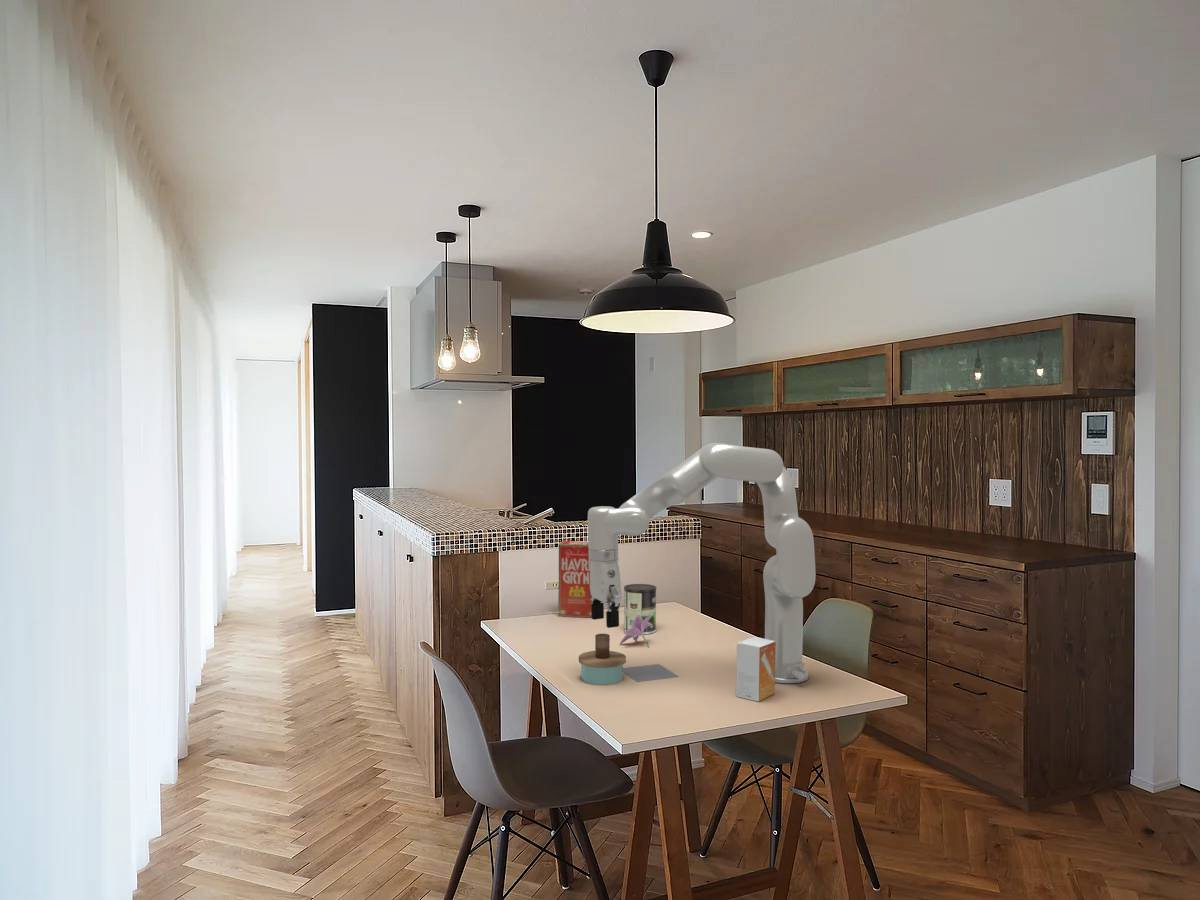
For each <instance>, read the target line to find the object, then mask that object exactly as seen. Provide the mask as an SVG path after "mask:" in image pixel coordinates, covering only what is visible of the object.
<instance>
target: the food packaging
mask: <svg viewBox="0 0 1200 900" xmlns="http://www.w3.org/2000/svg"><path fill="white" fill-rule="evenodd" d="M590 567H591V563H590V562H589V544H588V541H585V540H584V541H579V540H578V541H577V540H562V542H561V543H559V544H558V602H557V603H558V605H557V606H558V609H557V610H558V616H557V617H559V616H562V617H563V618H583V619H587V618H589V619H592V611H591V604H592V603H591V595H590V593H591V592H590ZM562 617H561V618H562Z"/></svg>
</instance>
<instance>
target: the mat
mask: <svg viewBox="0 0 1200 900" xmlns="http://www.w3.org/2000/svg"><path fill="white" fill-rule="evenodd" d="M623 674H624V675H626V676H627V677H629V678H630V679H632V680H633V681H635V682H637V683H639V682H640V683H641V682H649V681H656V680H657V681H658V680H666V679H672V678H673V679H674V678H679V677H680V676H679V675H678V674H676V673H674V672H672V671H671V670H669V669H668V668H666V667H664V666H663V665H661V664H659V663H656V664H654V663H653V664H648V665H647V664H646V665H637V666H628V667H623Z"/></svg>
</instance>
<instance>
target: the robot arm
mask: <svg viewBox="0 0 1200 900" xmlns="http://www.w3.org/2000/svg"><path fill="white" fill-rule="evenodd" d="M718 478H723V479H727V480H728V479H729V480H733V481H743V482H751V483H756V485H757V486H758V488H759V489H760V490H759V491H760V492H761V496H762V505H763V521H764V522H763V523H764V538H765V539H766V542H767V543H768V545H769V546H771V547H773V548H774V549H775V551H776V554H775V555H773V556H771V557H770V558H768V560H767V561H766V563H765V565H764V567H763V572H762V573H763V574H762V577H763V578H762V580H763V589H764V602H765V603H764V604H765V605H764V606H765V607H764V608H765V610H764V639H768V640H773V641H776V653H775V683H779V684H799V683H803V682H805V681H807V680H808V679H809V674H810V672H809V671H808V670H806V669H805V663H804V662H803V645H804V644H803V639H804V638H803V637H804V635H803V634H804V633H803V631H804V629H803V625H804V624H803V623H804V602H803V601H804V600H803V598H805V597H807V596H808V595H809V594H810V593H811V592H812V591H813V589H814V586H815V584H816V576H817V575H816V572H817V571H816V555H815V542H814V541H815V540H814V539H815V538H814V535H813V531H812V529H811V527H810V525H809V524H808V522H807V521H805V520H804V519H803V518H802V517H799V511H798V502H797V494H796V487H795V483H794V480H793V478H792V476H791V474H790V473H789V471H788V470H787V468H786V467H785V465H784V461H783V458H782V456H780V454H779V453H778V452H776V451H775V450H773V449H769V448H761V447H751V446H742V445H735V444H729V443H723V442H711V443H708V444H706V445H704V446H702V447H701V448H699V450H697V451H696V452H694V453H693V454H691V455H690V456H689V457H687V458H686V459H685V460H683V461H682V462H681V463H679V464H678V465H677V466H675V467H674V468H673V469H671V470H670V471H668V472H667V473H666V474H664V475H662V476H660V477H659V478H658V479H656V480H655V481H654V482H652V483H650V484H649V485H647V486H646V487H644V488H643V489H642V490H640V491H638V492H637V493H636V494H635V495H633V496H632V497H630V498H629V499H628V500H626V501H625V502H623V503H622V504H621V505H620V506H619V507H618V508H616V507H614V506H609V505H608V506H605V505H604V506H603V505H601V506H592V507H591V508H589V509H588V511H587V537H588V538H587V539H588V541H587V542H588V544H589V562H590V563H591V567H590V592H591V593H590V595H591V603H592V604H591V611H592V618H591V619H592V620H603V619H604V618H605V619H606V620H605V621H606V624H605V625H606V628H607V629H611V628H617V627H620V605H621V603H620V602H621V600H622V586H621V585H622V584H621V583H622V582H621V573H620V568H619V567H620V566H619V536H629V537H636V536H640V535H641V536H642V534H644V533H645V532H646V531H647V530H648V528H649V526H650V520H651V519H652V518H654V516H656V515H657V514H659V513H660V512H662V511H663V510H665V509H667V508H670V507H672V506H675V505H679V504H681V503H685V502H686V501H688V500H690V499H691V498H692V497H693V496H695V495H696V494H697V493H698V492H701V490H703V489H704V488H705V487H707V486H708V485H709V484H711V483H712V482H714V481H715V480H717V479H718ZM604 604H605V605H604ZM604 606H605V607H606V609H607V611H606V612H605V611H604V610H605V609H604V608H605V607H604ZM605 615H606V616H605Z"/></svg>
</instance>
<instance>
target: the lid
mask: <svg viewBox="0 0 1200 900" xmlns="http://www.w3.org/2000/svg"><path fill="white" fill-rule="evenodd" d="M594 637H595V638H594V639H595V641H594V642H595V644H594V645H595V647H594V648H595V650H591V651H585V652H583V653H581V654H579V655H578V663H579V664H582V665H585V666H589V667H596V668H610V667H617V666H621V665H625V664H626V662H627V656H626V655H625V654H623V653H622V652H619V651H612V650H610V637H611V636H610V634H608V633H596V634H595V636H594Z"/></svg>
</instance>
